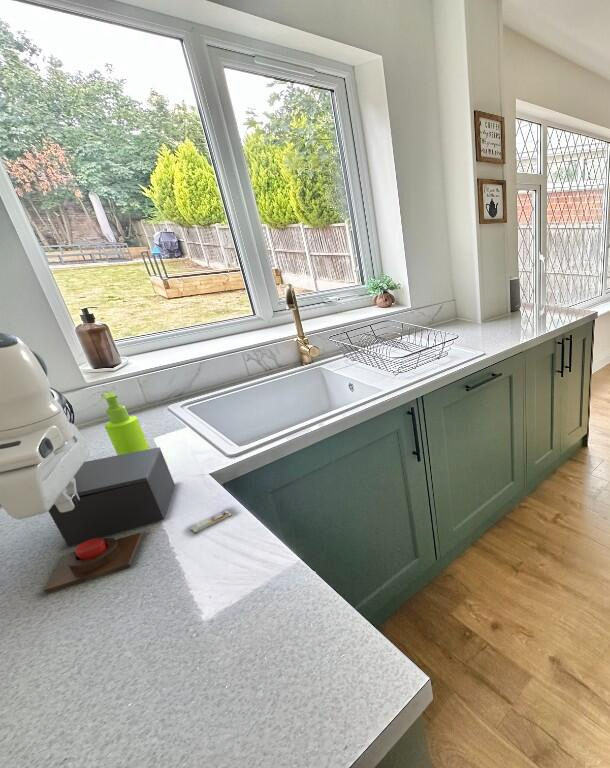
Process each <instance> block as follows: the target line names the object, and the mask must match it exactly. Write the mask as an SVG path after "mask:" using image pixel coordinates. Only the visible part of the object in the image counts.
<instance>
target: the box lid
mask: <svg viewBox="0 0 610 768" xmlns="http://www.w3.org/2000/svg"><path fill="white" fill-rule="evenodd" d="M160 451H161V452H162V449H161V447H160V446H159V447H154V448H150V449H147V450H142V451H137V452H132V453H127V454H122V455H117V454H116V455H111V456H107V457H102V458H97V459H92V460H88V461H87V460H86V461H85V462H84V463H83V465H82V466H81V467H80V469H79V470H78V471H77V473H76V474H75V476H74V478H75V481H76V492H77V494H78V496H82V495H87V494H91V493H96V492H100V491H104V490H109V489H113V488H118V487H122V486H127V485H131V484H136V483H140V482H145V481H148V478H149V476H150V474H151V471H152V469H153V467H154V465H155V462H156V460H157V458H158V455H159V453H160Z"/></svg>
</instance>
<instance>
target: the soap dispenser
mask: <svg viewBox="0 0 610 768" xmlns="http://www.w3.org/2000/svg"><path fill="white" fill-rule="evenodd" d="M100 396H101V397H102V398H103V399H105V400H106V403H107V405H108V408H106V409H105V413H106V414H107V417H108V419H109V421H108V422H106V423H105V424H104V428H105V431H106V433H107V435H108V437H109V439H110V442H111V443H112V446H113V449H114V451H115V453H116V456H117V455H122V454H127V453H132V452H137V451H142V450H147V449H151V447H150V446H149V443H148V440H147V439H146V435H145V434H144V431H143V428H142V427H141V424H140V422H139V419H138V417H137V416H135V415H129V413H128V411H127V407H126V406H125V405H124V404H119V401H118V395H117V394H116V393H114V392H113V391H109V392H105V393H101V394H100Z"/></svg>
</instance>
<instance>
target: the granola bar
mask: <svg viewBox="0 0 610 768" xmlns="http://www.w3.org/2000/svg"><path fill="white" fill-rule="evenodd" d="M230 516H232V513H231V512H230V511H229V510H222V511H220V512H218V513H216V514H214V515H212V516H210V517H208V518H205V519H204V520H203V519H202V520H201V521H199V522H197V523H195V524H194V525H193V526H191V527H189V529H190V530H191V531H193V533H197V532H199V531H202V530H204V529H206V528H208V527H210V526H212V525H214V524H216V523H218V522H220V521H222V520H224V519H226V518H228V517H230Z"/></svg>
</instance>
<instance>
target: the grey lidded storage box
mask: <svg viewBox="0 0 610 768" xmlns="http://www.w3.org/2000/svg"><path fill="white" fill-rule="evenodd" d="M175 487H176V484H175V481H174V479H173V477H172V474H171V471H170V469H169V467H168V464H167V461H166V459H165V457H164V454H163V452H162V450H161V451H160V453H159V455H158V458H157V460H156V462H155V465H154V467H153V469H152V471H151V474H150V476H149V478H148V481H145V482H140V483H136V484H131V485H127V486H122V487H118V488H113V489H109V490H104V491H100V492H96V493H91V494H87V495H82V496H79V498H80V500H79V501H78V503H77V504H76V506H75V507H74V509H73V510H71V511H67V512H60V511H59V510H58V508H57V506H56V505H54V504H53V506H52V507H51V508H50V510H49V511H48V513H49V515H50V517H51V518H52V520H53V522H54V524H55V526H56V527H57V530H59V533H60V535H61V537H62V538H63V540H64V541H65V543H66V545H67V547H69V548H70V547H72V546H76V545H80V544H82V543H84V542H85V541H88V540H90V539H94V538H105V537H107V536H111V535H112V536H113V535H115V534H119V533H121V532H125V531H130V530H133V529H137V528H139V527H143V526H146V525H150V524H153V523H157V522H160V521H164V520H165V519H166V516H167V512H168V509H169V506H170V503H171V499H172V496H173V494H174V490H175Z"/></svg>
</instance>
